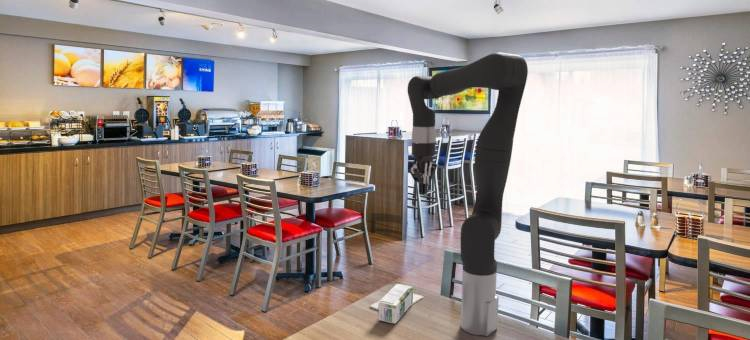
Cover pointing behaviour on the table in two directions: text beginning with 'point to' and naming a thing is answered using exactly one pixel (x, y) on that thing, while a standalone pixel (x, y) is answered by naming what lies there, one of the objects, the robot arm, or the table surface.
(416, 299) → the mat
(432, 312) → the table surface
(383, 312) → the syrup box
